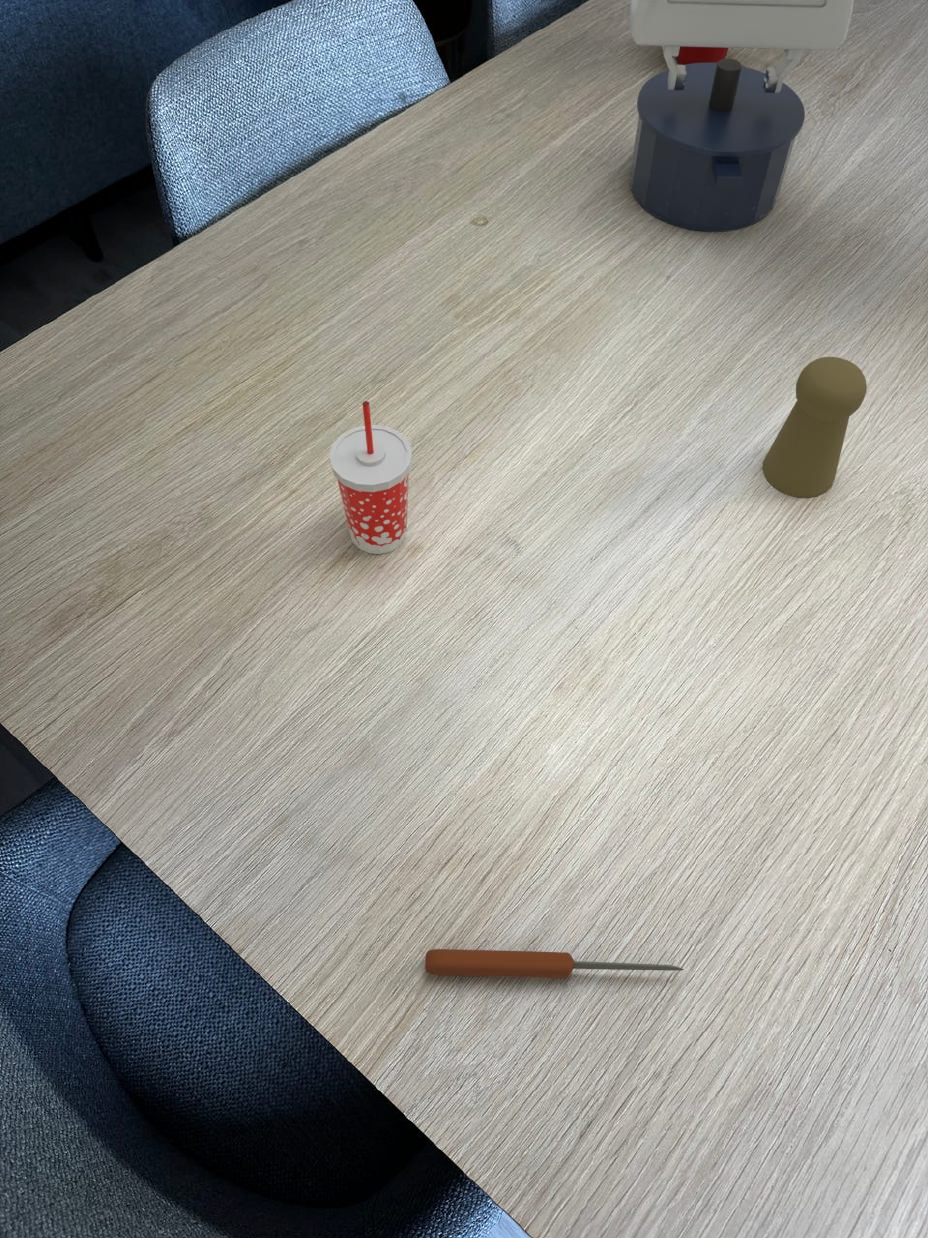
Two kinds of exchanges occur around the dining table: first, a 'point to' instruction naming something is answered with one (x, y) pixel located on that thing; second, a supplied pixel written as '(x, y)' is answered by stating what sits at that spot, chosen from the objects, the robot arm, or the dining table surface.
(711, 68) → the lid
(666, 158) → the pot
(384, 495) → the beverage cup
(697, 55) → the plastic cup
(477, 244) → the dining table surface
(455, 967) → the orange-handled awl
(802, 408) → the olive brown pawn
